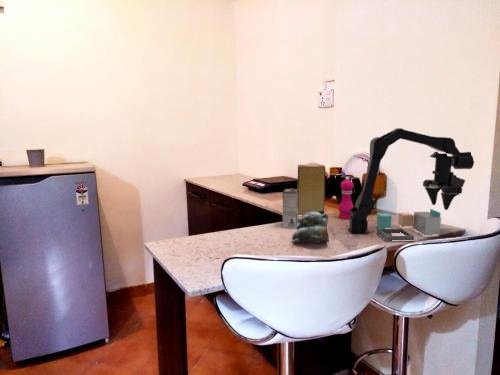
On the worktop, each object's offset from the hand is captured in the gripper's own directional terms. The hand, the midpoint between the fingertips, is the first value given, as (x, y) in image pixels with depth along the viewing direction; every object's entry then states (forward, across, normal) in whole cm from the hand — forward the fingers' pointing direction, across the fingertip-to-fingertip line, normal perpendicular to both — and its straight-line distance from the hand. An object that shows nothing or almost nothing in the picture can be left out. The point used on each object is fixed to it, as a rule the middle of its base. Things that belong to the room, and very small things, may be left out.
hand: (439, 207), depth 148 cm
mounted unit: (+11, 0, +5) cm, 12 cm away
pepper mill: (+11, +28, +30) cm, 43 cm away
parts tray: (+11, -5, +20) cm, 23 cm away
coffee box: (+11, +15, +59) cm, 62 cm away
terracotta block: (+11, +10, +9) cm, 17 cm away
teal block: (+11, +9, +19) cm, 24 cm away
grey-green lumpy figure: (+11, -9, +55) cm, 57 cm away
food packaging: (+11, +35, +46) cm, 59 cm away
